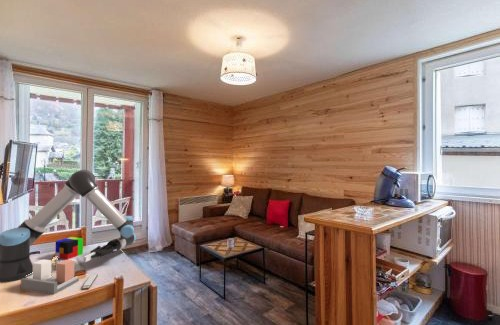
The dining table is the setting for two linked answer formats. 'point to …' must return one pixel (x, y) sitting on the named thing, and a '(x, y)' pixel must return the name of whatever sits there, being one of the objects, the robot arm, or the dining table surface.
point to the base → (46, 285)
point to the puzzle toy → (69, 247)
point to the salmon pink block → (65, 271)
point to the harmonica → (89, 282)
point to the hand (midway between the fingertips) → (84, 259)
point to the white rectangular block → (42, 269)
